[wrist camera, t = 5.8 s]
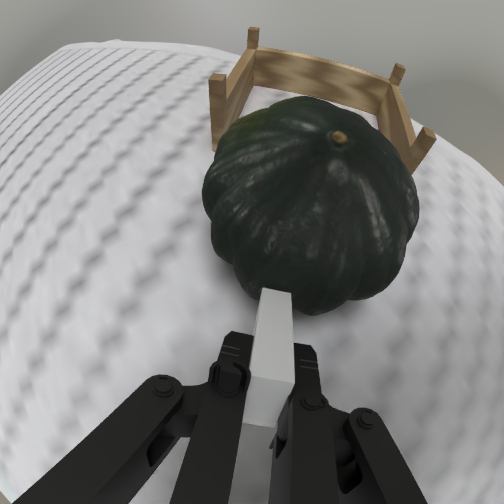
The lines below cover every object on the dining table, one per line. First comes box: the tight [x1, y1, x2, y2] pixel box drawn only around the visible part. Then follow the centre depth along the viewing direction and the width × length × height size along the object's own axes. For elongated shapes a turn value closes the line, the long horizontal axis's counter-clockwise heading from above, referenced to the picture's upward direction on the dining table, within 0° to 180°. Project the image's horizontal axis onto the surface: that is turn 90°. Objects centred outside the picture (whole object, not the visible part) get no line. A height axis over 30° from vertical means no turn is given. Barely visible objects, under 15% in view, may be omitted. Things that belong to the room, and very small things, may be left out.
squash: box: [202, 96, 419, 316], centre depth 18 cm, size 14×15×15 cm
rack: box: [209, 27, 437, 175], centre depth 27 cm, size 20×16×9 cm
